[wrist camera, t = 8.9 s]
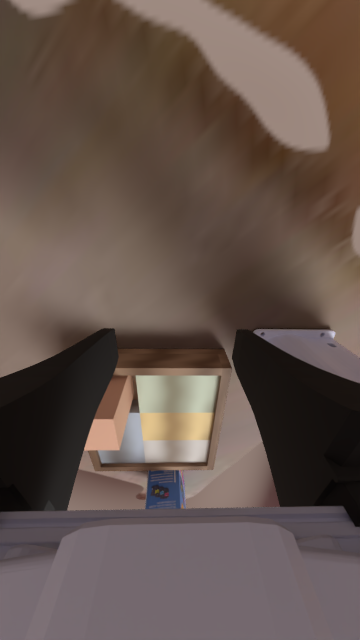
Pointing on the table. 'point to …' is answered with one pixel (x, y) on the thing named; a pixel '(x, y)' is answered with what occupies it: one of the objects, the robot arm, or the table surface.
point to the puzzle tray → (174, 369)
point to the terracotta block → (111, 415)
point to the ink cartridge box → (165, 490)
